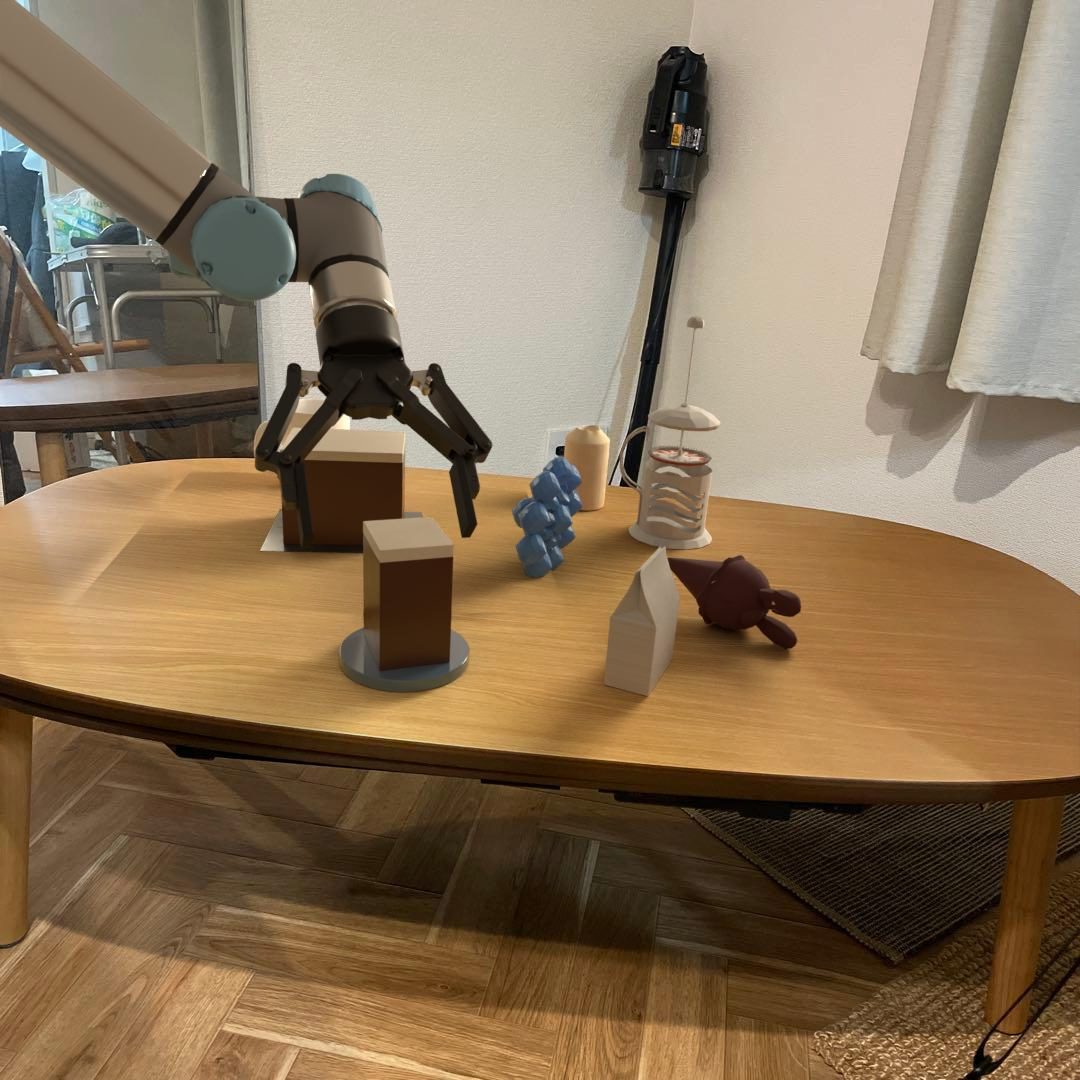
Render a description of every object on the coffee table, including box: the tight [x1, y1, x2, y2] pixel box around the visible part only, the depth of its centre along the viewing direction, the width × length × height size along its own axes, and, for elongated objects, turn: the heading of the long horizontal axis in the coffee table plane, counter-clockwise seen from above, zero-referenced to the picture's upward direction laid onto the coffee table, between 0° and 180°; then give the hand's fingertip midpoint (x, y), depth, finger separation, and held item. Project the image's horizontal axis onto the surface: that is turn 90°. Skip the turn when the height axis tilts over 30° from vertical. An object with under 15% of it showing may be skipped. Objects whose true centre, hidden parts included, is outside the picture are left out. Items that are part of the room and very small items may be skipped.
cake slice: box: [362, 516, 455, 671], centre depth 71 cm, size 6×6×10 cm
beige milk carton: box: [603, 546, 681, 697], centre depth 72 cm, size 4×7×10 cm, turn 156°
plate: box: [338, 626, 470, 693], centre depth 73 cm, size 10×10×1 cm
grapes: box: [511, 456, 583, 578], centre depth 90 cm, size 12×7×12 cm, turn 155°
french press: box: [619, 316, 721, 550], centre depth 101 cm, size 10×12×25 cm
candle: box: [563, 424, 611, 511], centre depth 112 cm, size 6×6×10 cm
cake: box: [279, 428, 406, 546], centre depth 95 cm, size 12×9×10 cm
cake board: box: [259, 508, 423, 554], centre depth 97 cm, size 16×13×1 cm
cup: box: [253, 398, 351, 478], centre depth 111 cm, size 8×12×10 cm
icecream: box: [667, 554, 802, 650], centre depth 82 cm, size 7×7×15 cm
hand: (391, 537), depth 74 cm, fingers open, 13 cm apart
